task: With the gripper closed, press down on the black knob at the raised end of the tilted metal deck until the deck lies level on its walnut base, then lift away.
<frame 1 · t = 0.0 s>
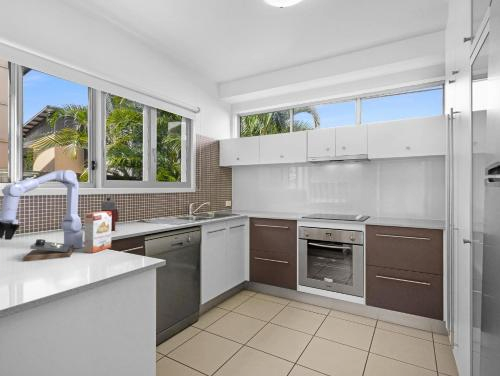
hand: (3, 238, 127), 11 cm above the worktop, tool pointing down, fingers open, 7 cm apart
toy vending machine: (110, 231, 212), on the worktop
cracker box: (98, 250, 151), on the worktop
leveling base: (50, 255, 139), on the worktop
deck: (52, 244, 139), point 5 cm above the worktop, hinge at 12.0°
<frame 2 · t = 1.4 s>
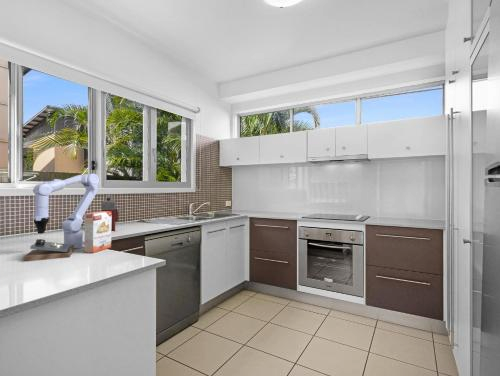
hand: (41, 233, 143), 10 cm above the worktop, tool pointing down, fingers closed
nothing on the worktop moved.
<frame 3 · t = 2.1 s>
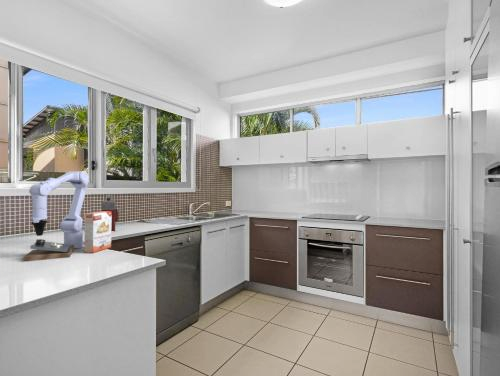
hand: (39, 235, 137), 10 cm above the worktop, tool pointing down, fingers closed
nothing on the worktop moved.
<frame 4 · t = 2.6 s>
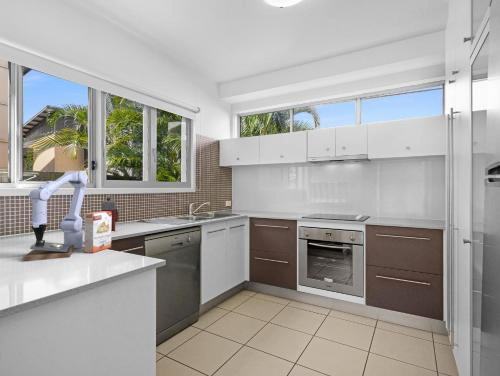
hand: (39, 240, 137), 8 cm above the worktop, tool pointing down, fingers closed, pressing on deck
deck: (52, 244, 139), point 5 cm above the worktop, hinge at 11.1°, touching gripper
everything else where it was.
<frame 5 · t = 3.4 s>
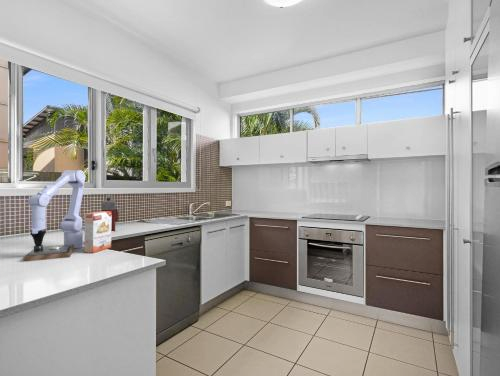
hand: (38, 246, 136), 5 cm above the worktop, tool pointing down, fingers closed, pressing on deck
deck: (51, 247, 139), point 4 cm above the worktop, hinge at -0.8°, touching gripper
everything else where it was.
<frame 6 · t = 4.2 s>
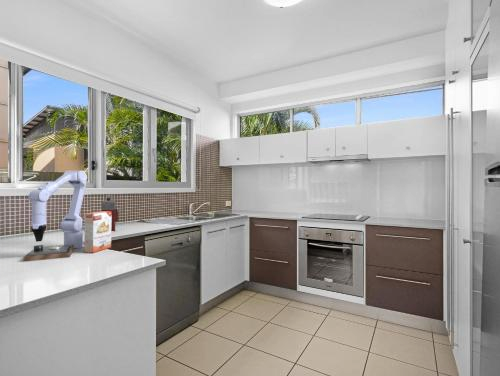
hand: (39, 241, 137), 8 cm above the worktop, tool pointing down, fingers closed
deck: (51, 247, 139), point 4 cm above the worktop, hinge at -0.8°
everything else where it was.
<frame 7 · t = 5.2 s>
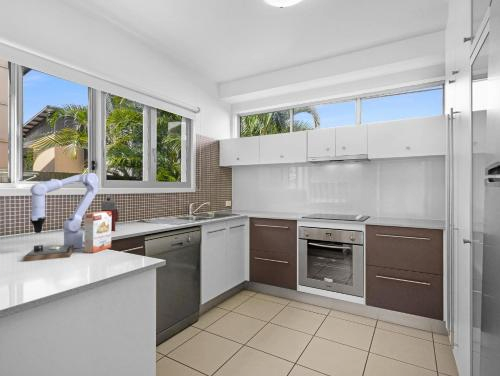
hand: (38, 232, 144), 10 cm above the worktop, tool pointing down, fingers closed
nothing on the worktop moved.
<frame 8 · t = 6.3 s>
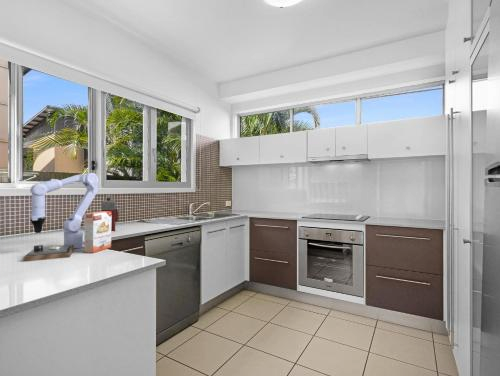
hand: (38, 232, 144), 10 cm above the worktop, tool pointing down, fingers closed
nothing on the worktop moved.
at the end: deck at -1° (first picture: +12°); cracker box moved 0.2 cm from its start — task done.
